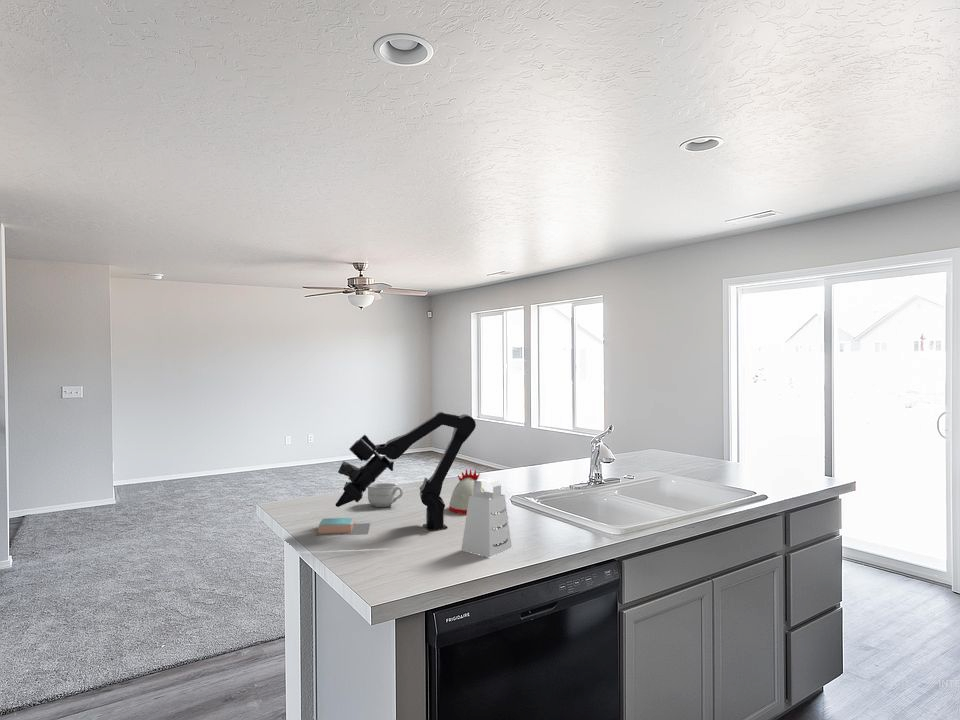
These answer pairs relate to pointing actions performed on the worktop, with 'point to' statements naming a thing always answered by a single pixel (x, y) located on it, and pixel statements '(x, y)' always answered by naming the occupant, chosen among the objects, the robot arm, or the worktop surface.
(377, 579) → the worktop surface
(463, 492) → the kitchen timer
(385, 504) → the teacup
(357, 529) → the mat
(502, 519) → the grater
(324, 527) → the pink and teal block
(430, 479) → the robot arm
